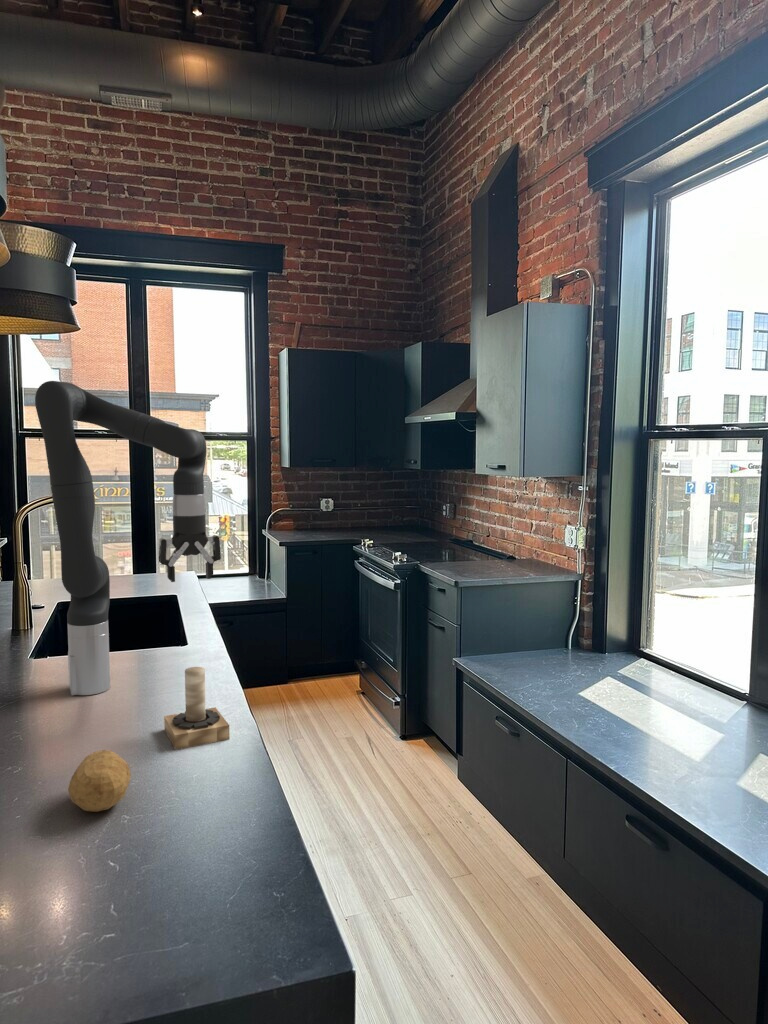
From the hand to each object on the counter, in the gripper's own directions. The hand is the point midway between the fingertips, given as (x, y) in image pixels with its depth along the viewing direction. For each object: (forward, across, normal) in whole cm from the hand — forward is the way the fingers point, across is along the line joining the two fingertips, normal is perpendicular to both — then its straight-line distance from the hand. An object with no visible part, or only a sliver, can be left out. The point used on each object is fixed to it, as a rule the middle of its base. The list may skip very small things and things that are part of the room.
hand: (190, 579), depth 168 cm
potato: (+28, +26, +46) cm, 60 cm away
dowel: (+28, +5, +25) cm, 38 cm away
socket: (+28, +5, +25) cm, 38 cm away
